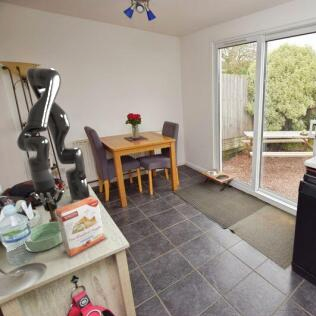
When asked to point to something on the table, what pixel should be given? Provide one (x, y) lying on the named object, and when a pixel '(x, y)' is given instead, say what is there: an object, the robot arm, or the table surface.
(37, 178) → the robot arm
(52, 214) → the pestle
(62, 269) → the table surface
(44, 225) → the bowl
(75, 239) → the cracker box
